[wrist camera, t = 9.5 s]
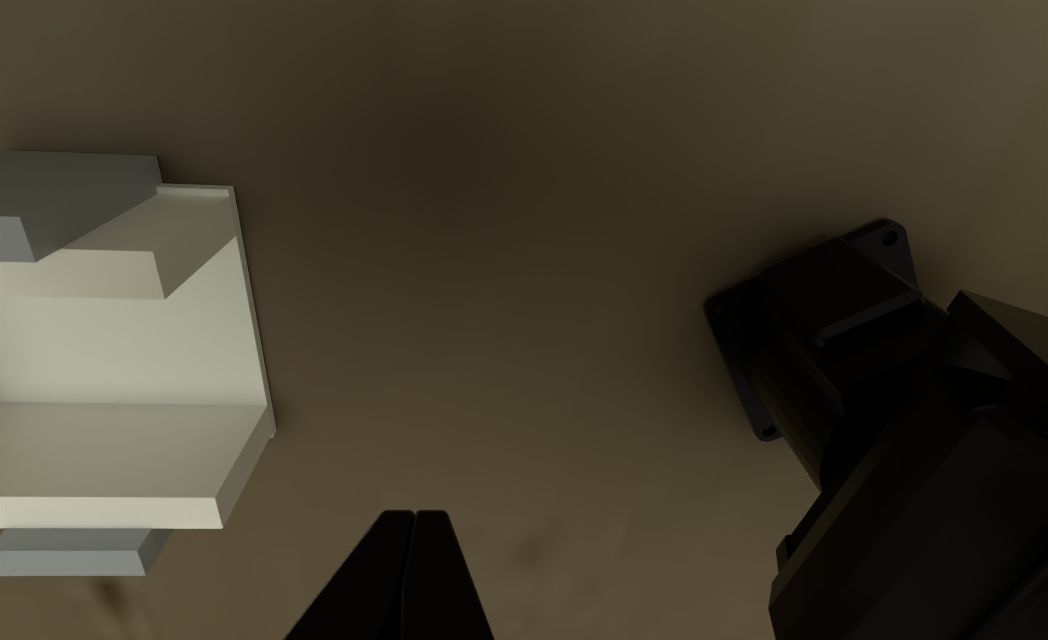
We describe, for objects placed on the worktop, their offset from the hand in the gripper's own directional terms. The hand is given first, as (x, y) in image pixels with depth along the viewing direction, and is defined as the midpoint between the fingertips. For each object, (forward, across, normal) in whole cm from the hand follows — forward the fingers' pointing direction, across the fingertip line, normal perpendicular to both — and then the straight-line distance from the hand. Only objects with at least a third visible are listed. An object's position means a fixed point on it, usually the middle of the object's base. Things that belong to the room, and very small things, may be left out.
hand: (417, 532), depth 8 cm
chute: (+12, +14, +3) cm, 19 cm away
